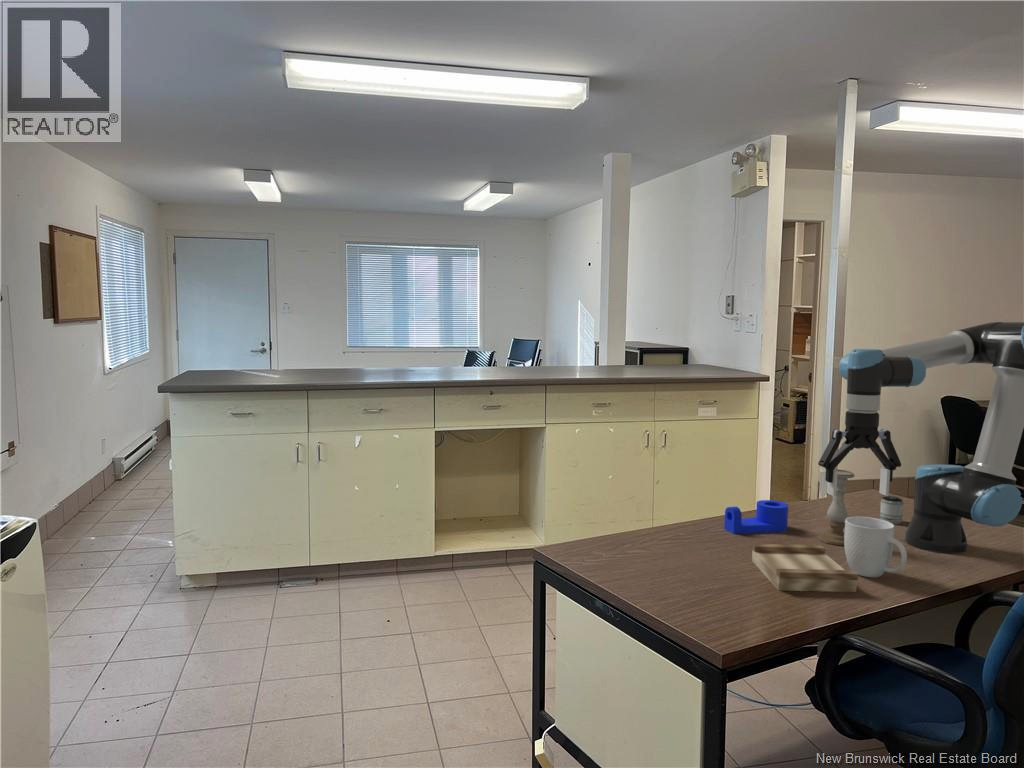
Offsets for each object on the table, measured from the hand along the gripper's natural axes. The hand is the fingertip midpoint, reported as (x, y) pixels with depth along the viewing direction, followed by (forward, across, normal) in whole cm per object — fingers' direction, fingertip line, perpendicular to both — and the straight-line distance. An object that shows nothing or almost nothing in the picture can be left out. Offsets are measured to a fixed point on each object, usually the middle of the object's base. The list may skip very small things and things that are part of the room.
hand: (857, 494), depth 174 cm
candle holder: (+20, -8, -24) cm, 32 cm away
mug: (+20, -3, +2) cm, 20 cm away
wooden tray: (+20, +15, +3) cm, 25 cm away
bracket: (+20, +10, -36) cm, 42 cm away
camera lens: (+20, -36, -42) cm, 59 cm away
